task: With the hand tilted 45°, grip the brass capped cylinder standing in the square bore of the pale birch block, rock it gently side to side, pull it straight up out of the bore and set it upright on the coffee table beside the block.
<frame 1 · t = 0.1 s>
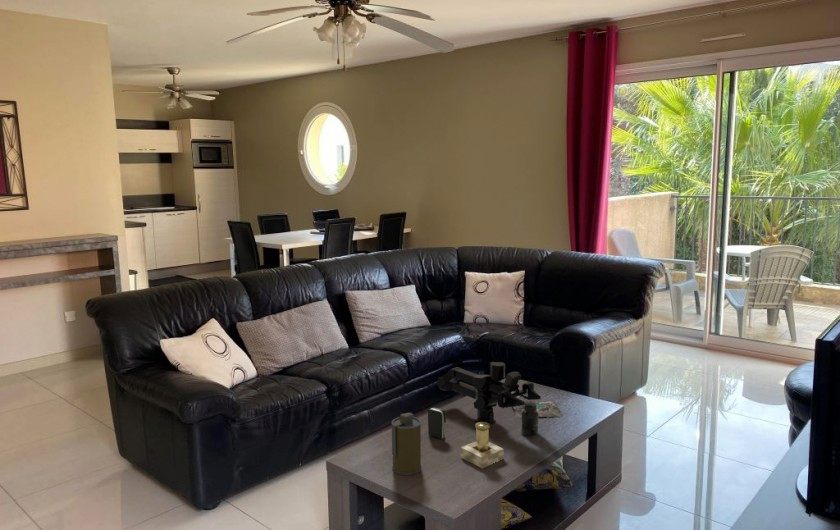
hand: (532, 400, 236), 17 cm above the table, tool horizontal, fingers open, 9 cm apart
brass capped cylinder: (482, 441, 224), in the bore block
bore block: (482, 458, 225), on the table
canister: (406, 468, 218), on the table
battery: (437, 436, 244), on the table
terrain model: (536, 413, 269), on the table
supplement bottle: (529, 433, 246), on the table
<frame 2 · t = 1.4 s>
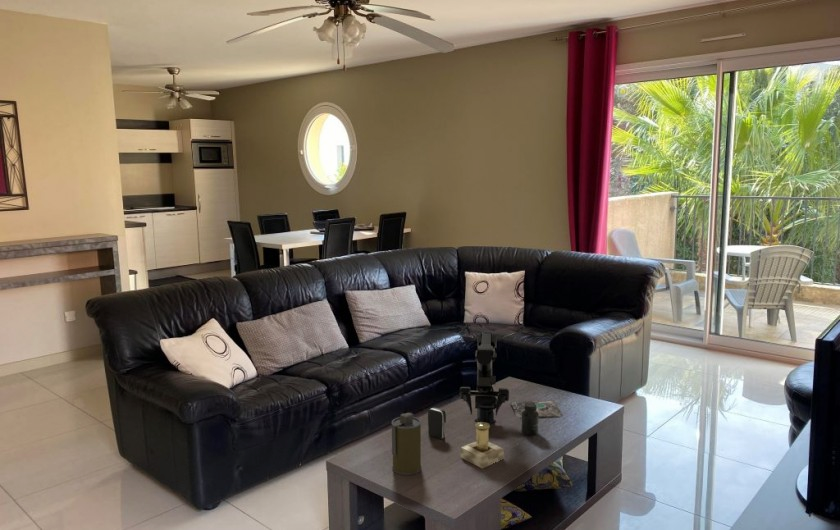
hand: (483, 414, 230), 14 cm above the table, tool tilted 45°, fingers open, 9 cm apart
nothing on the table moved.
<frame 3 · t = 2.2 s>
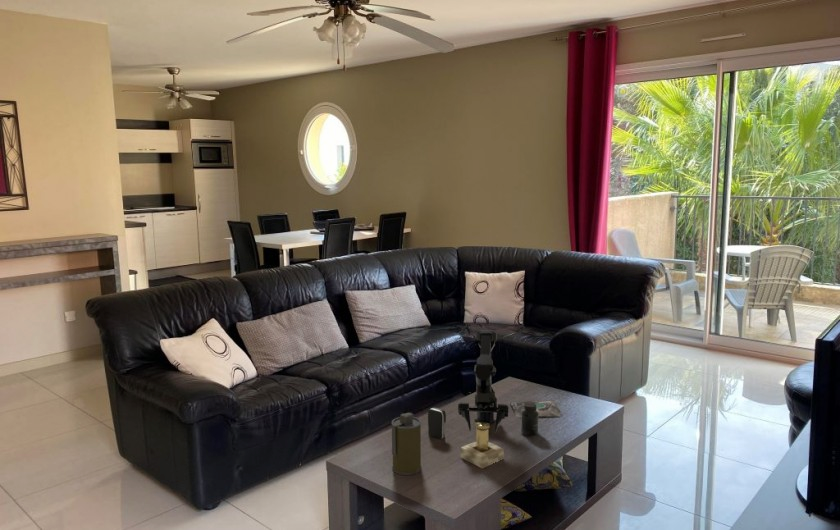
hand: (482, 431, 225), 10 cm above the table, tool tilted 45°, fingers open, 9 cm apart
nothing on the table moved.
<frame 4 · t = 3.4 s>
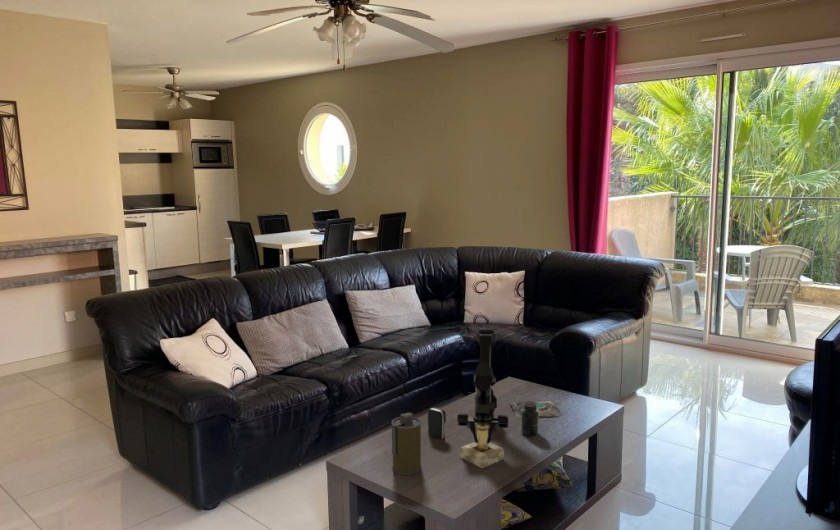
hand: (482, 443, 222), 7 cm above the table, tool tilted 45°, fingers closed on brass capped cylinder, 4 cm apart
brass capped cylinder: (482, 441, 224), in the bore block, touching gripper
everything else where it was.
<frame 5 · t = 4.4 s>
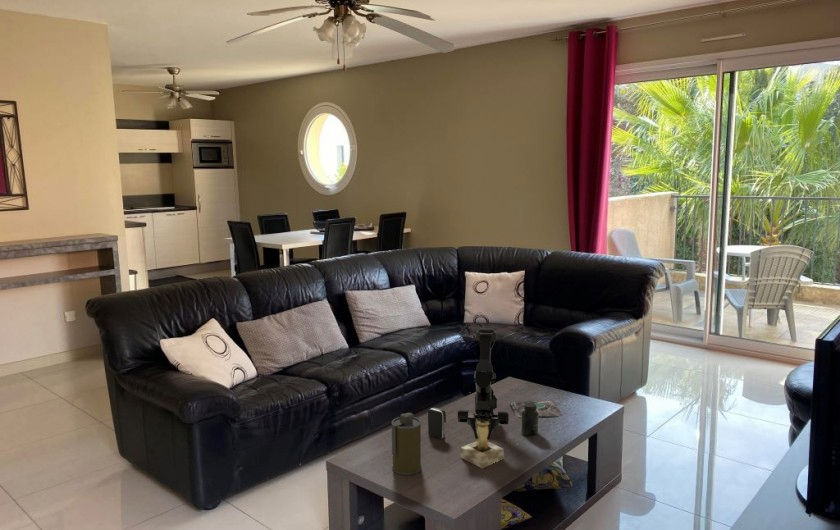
hand: (482, 439, 222), 8 cm above the table, tool tilted 45°, fingers closed on brass capped cylinder, 4 cm apart
brass capped cylinder: (482, 438, 224), point 8 cm above the table, touching gripper
everything else where it was.
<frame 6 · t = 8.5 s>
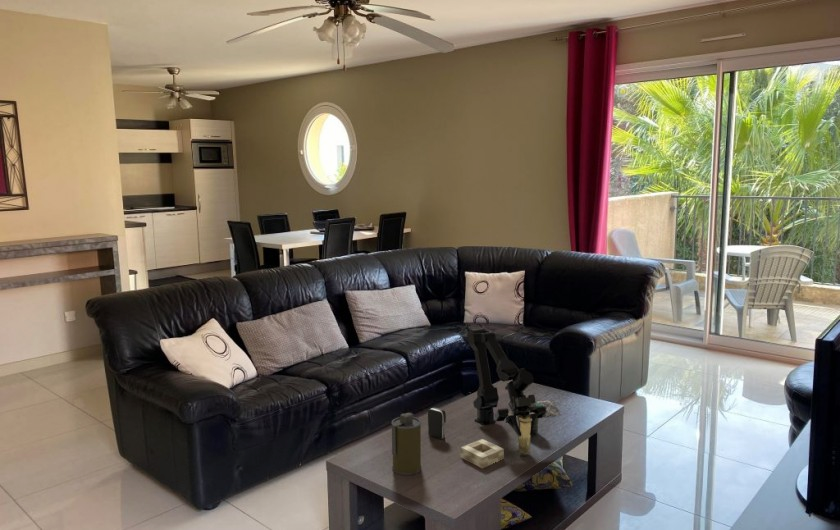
hand: (525, 435, 225), 8 cm above the table, tool tilted 45°, fingers closed on brass capped cylinder, 4 cm apart
brass capped cylinder: (524, 434, 226), point 8 cm above the table, touching gripper
when the fingers open (8 cm above the table, at t = 8.8 s): brass capped cylinder drops 1 cm, on the table.
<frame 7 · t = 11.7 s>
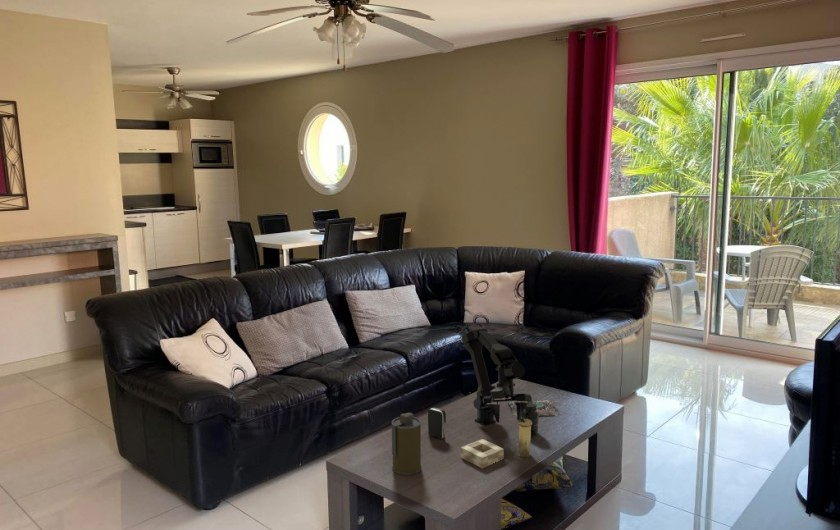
hand: (508, 422, 235), 9 cm above the table, tool tilted 25°, fingers open, 9 cm apart
brass capped cylinder: (524, 438, 227), on the table
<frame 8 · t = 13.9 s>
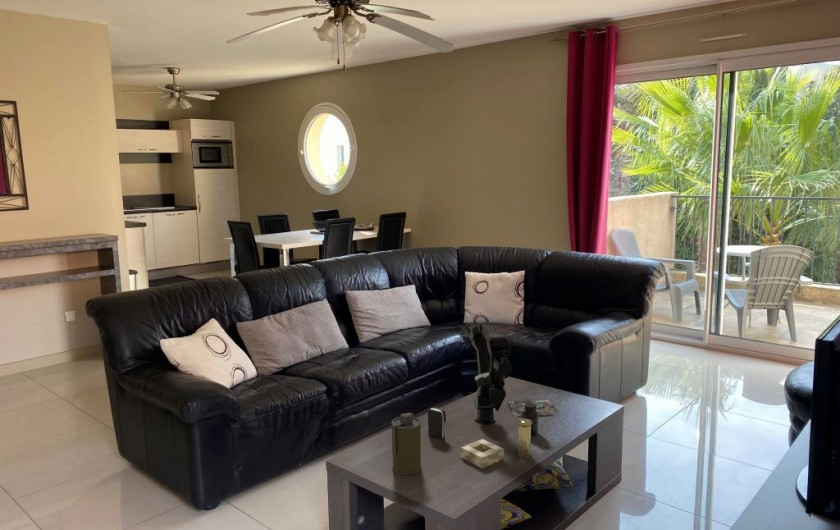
hand: (496, 406, 240), 13 cm above the table, tool pointing down, fingers open, 9 cm apart
at the end: brass capped cylinder inside the target area (0.0 cm from its centre), on the table; brass capped cylinder tilted 0°; the gripper is holding nothing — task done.
